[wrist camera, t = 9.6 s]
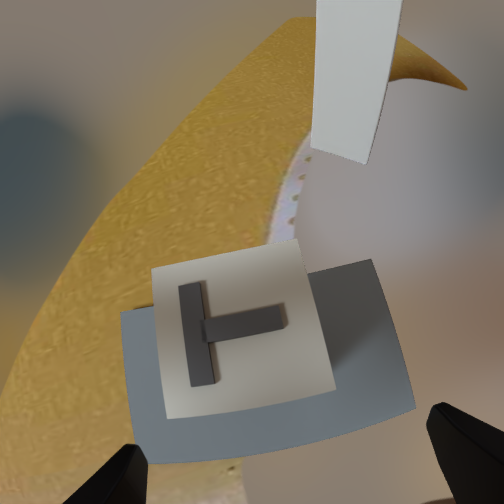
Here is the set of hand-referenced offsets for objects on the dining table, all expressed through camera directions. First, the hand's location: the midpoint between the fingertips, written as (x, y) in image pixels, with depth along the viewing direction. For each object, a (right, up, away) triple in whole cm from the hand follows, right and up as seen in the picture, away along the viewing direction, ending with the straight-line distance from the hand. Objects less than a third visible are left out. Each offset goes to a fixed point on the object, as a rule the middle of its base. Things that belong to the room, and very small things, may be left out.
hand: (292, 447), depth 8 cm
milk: (+9, +17, +23) cm, 30 cm away
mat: (0, -3, +14) cm, 14 cm away
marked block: (-1, -2, +13) cm, 13 cm away
